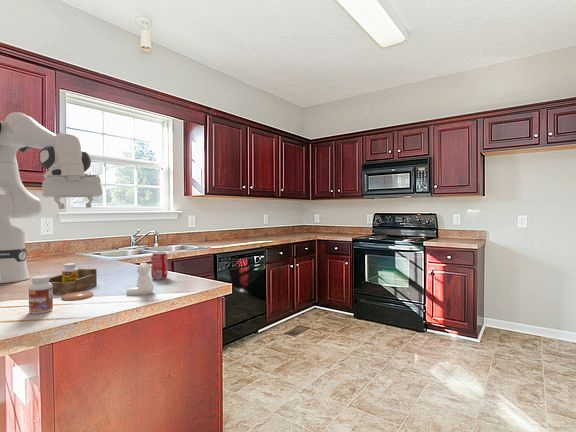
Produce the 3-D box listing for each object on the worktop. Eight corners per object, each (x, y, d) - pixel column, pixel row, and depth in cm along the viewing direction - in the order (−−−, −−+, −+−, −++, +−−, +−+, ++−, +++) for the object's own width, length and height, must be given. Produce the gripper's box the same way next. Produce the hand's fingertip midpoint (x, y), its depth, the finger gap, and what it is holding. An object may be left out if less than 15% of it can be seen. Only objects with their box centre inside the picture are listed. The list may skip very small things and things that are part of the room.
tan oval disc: (55, 300, 124) (55, 298, 124) (73, 293, 134) (73, 291, 134) (82, 300, 123) (82, 298, 123) (98, 293, 133) (98, 291, 133)
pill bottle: (24, 314, 107) (24, 279, 106) (35, 309, 113) (34, 275, 113) (47, 313, 108) (46, 278, 108) (56, 308, 114) (55, 274, 114)
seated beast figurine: (144, 289, 140) (144, 260, 139) (161, 291, 136) (160, 261, 136) (125, 295, 131) (124, 263, 131) (142, 297, 128) (142, 264, 127)
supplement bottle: (62, 291, 137) (61, 265, 137) (62, 288, 142) (61, 263, 141) (78, 289, 140) (78, 264, 140) (78, 286, 145) (77, 262, 144)
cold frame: (41, 292, 134) (41, 274, 134) (65, 285, 148) (65, 268, 148) (75, 293, 134) (75, 275, 134) (96, 285, 147) (96, 268, 147)
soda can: (164, 276, 166) (163, 251, 165) (169, 278, 160) (169, 253, 160) (149, 278, 161) (148, 252, 161) (154, 281, 156) (154, 254, 155)
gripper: (96, 175, 146) (100, 208, 145) (38, 174, 131) (42, 210, 130) (102, 172, 142) (106, 205, 141) (43, 170, 127) (47, 208, 126)
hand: (75, 208), depth 136 cm, fingers open, 8 cm apart
